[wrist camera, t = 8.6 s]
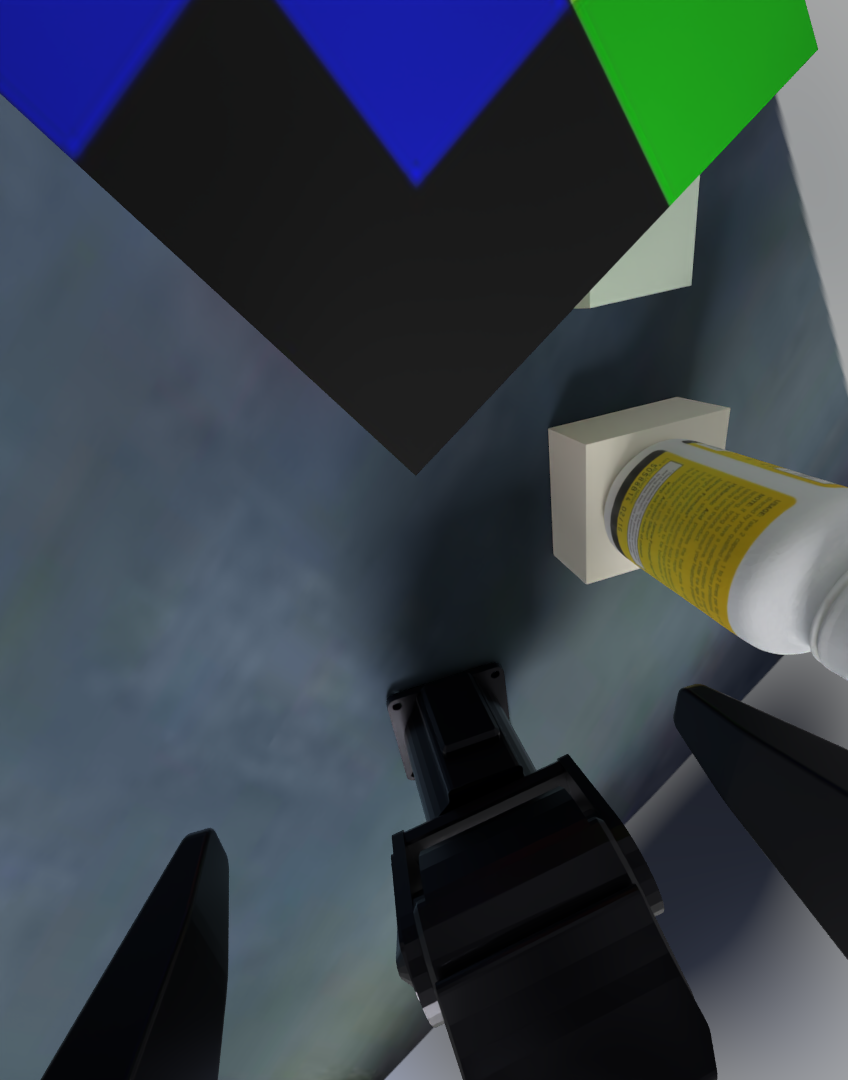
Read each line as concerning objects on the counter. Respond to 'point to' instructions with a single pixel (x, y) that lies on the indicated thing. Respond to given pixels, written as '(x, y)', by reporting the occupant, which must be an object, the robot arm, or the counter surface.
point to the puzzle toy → (399, 162)
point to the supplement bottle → (740, 544)
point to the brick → (654, 257)
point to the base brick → (612, 473)
